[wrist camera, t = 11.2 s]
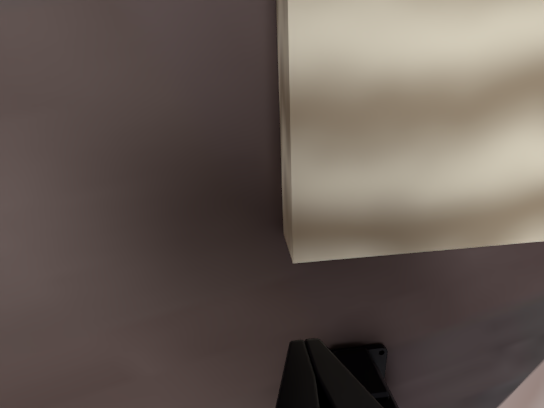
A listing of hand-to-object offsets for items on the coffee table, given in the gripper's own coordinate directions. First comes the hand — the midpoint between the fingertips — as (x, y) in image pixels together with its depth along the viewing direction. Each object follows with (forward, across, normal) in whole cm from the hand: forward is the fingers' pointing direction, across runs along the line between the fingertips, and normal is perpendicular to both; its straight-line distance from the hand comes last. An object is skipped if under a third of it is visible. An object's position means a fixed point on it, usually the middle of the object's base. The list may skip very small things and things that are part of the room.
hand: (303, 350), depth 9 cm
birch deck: (+12, -9, -6) cm, 16 cm away
